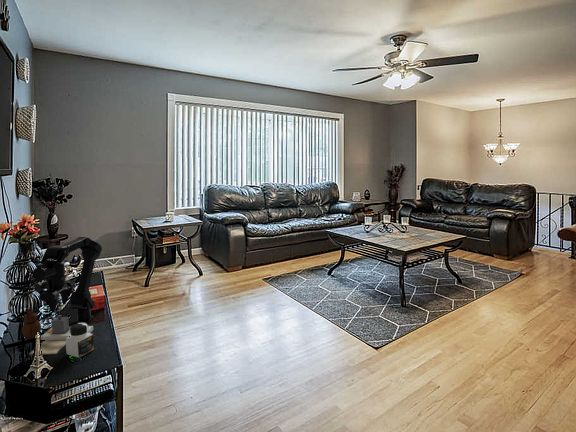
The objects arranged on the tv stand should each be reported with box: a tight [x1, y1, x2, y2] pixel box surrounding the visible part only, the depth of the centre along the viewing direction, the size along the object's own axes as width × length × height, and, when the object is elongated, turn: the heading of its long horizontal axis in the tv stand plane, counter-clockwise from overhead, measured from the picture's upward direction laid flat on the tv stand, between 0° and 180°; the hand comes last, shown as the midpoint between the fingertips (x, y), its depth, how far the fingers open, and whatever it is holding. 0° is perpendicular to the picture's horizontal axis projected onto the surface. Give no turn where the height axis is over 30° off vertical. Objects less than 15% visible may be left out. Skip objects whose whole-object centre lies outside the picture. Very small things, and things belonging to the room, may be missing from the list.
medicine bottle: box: [65, 322, 95, 359], centre depth 141 cm, size 7×7×12 cm
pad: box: [29, 340, 66, 356], centre depth 144 cm, size 10×10×1 cm
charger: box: [51, 314, 70, 334], centre depth 154 cm, size 4×5×10 cm
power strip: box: [40, 325, 94, 341], centre depth 155 cm, size 9×18×3 cm, turn 97°
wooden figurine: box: [21, 306, 42, 340], centre depth 151 cm, size 7×6×15 cm
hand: (58, 308), depth 153 cm, fingers open, 9 cm apart
